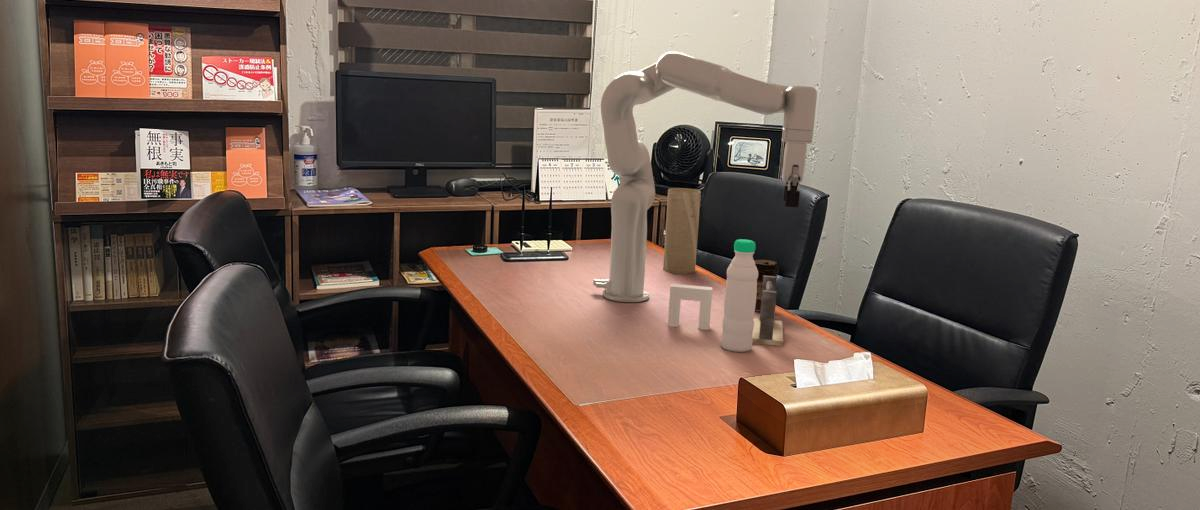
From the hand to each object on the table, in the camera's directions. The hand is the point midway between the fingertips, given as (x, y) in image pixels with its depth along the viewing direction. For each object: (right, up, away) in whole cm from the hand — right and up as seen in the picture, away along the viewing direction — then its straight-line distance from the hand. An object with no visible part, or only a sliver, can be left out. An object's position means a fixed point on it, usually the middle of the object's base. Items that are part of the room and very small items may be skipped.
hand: (790, 203), depth 222 cm
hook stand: (-9, -32, -11) cm, 35 cm away
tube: (-24, -18, +51) cm, 59 cm away
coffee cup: (-6, -28, +10) cm, 30 cm away
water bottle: (-17, -34, -23) cm, 45 cm away
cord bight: (-27, -30, -8) cm, 41 cm away
